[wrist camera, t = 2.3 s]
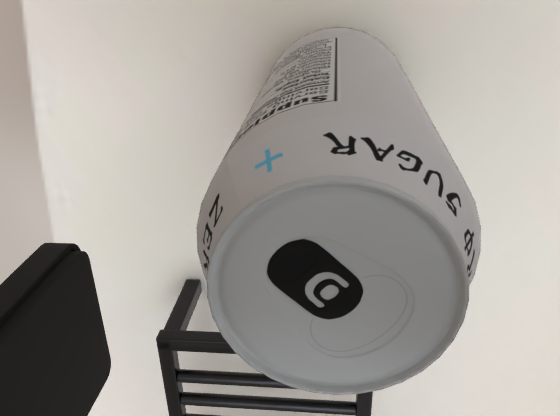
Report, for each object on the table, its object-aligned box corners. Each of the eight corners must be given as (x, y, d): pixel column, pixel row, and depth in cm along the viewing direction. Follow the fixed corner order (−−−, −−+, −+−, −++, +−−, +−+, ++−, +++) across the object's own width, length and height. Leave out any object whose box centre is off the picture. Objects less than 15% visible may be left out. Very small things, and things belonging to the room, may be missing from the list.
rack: (184, 277, 28) (155, 338, 24) (369, 283, 27) (375, 349, 23) (206, 452, 34) (187, 527, 30) (358, 463, 33) (361, 542, 29)
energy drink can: (336, 183, 25) (336, 457, 11) (241, 98, 23) (114, 297, 10) (434, 92, 22) (578, 302, 9) (334, -9, 21) (330, 64, 8)
